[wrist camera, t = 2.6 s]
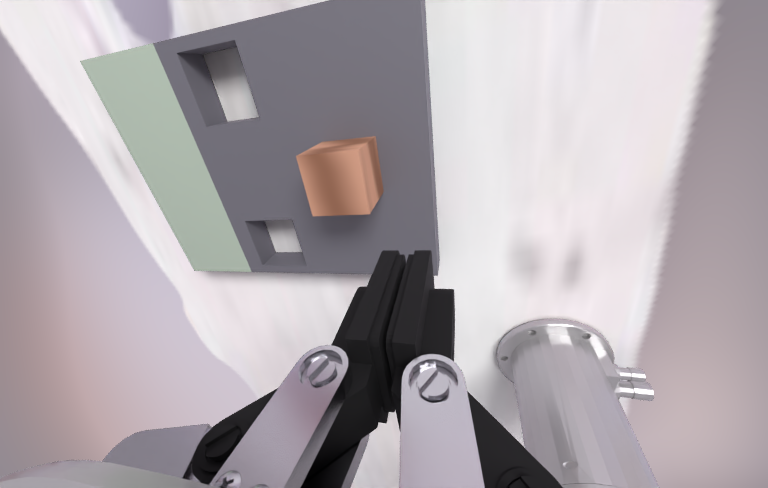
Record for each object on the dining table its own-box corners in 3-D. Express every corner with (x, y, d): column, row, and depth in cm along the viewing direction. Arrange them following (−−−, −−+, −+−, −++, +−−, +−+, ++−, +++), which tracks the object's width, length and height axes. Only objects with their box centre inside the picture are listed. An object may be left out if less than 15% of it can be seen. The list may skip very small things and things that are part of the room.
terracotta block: (375, 136, 25) (358, 150, 21) (383, 191, 28) (369, 214, 23) (322, 141, 26) (295, 156, 22) (334, 194, 29) (312, 216, 25)
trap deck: (424, -12, 22) (419, -22, 19) (439, 259, 34) (437, 275, 31) (111, 61, 30) (80, 61, 28) (210, 258, 42) (194, 270, 39)
